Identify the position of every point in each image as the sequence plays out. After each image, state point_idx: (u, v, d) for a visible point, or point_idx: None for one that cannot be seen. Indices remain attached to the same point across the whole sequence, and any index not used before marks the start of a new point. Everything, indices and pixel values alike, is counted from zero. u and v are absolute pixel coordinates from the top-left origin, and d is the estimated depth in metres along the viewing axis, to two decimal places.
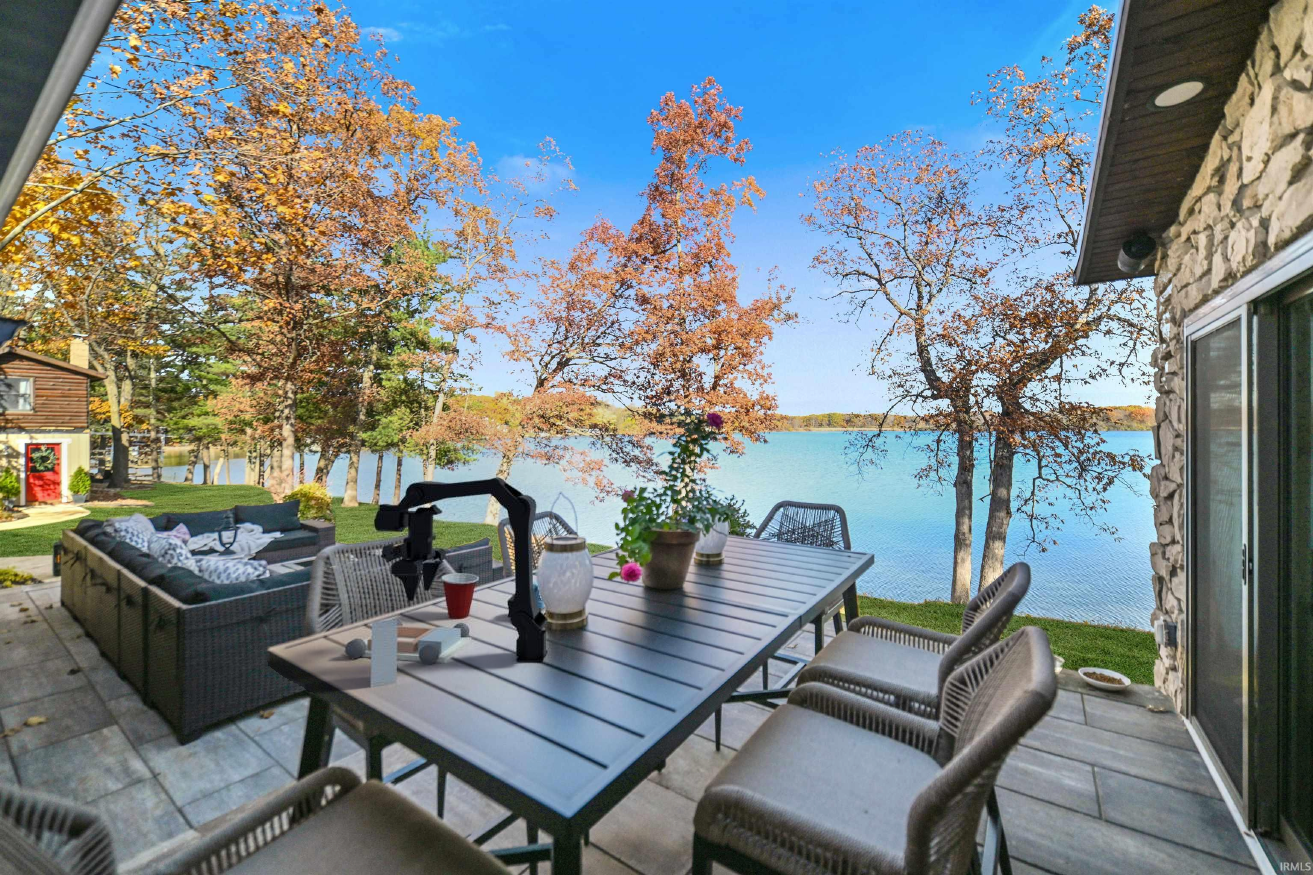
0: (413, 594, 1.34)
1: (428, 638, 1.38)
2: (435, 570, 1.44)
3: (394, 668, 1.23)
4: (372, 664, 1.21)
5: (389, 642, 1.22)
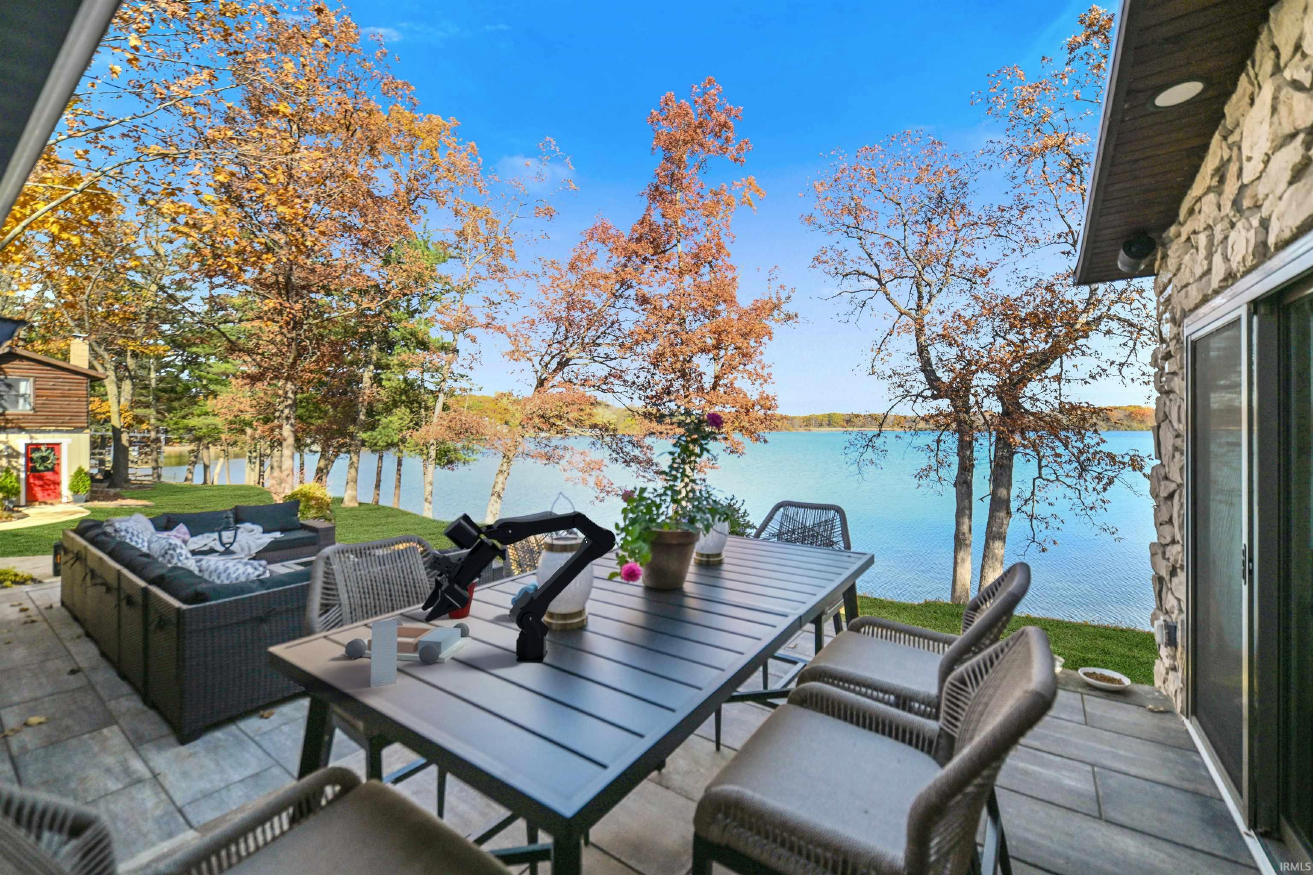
0: (434, 618, 1.24)
1: (428, 638, 1.38)
2: None
3: (394, 668, 1.23)
4: (372, 664, 1.21)
5: (389, 642, 1.22)
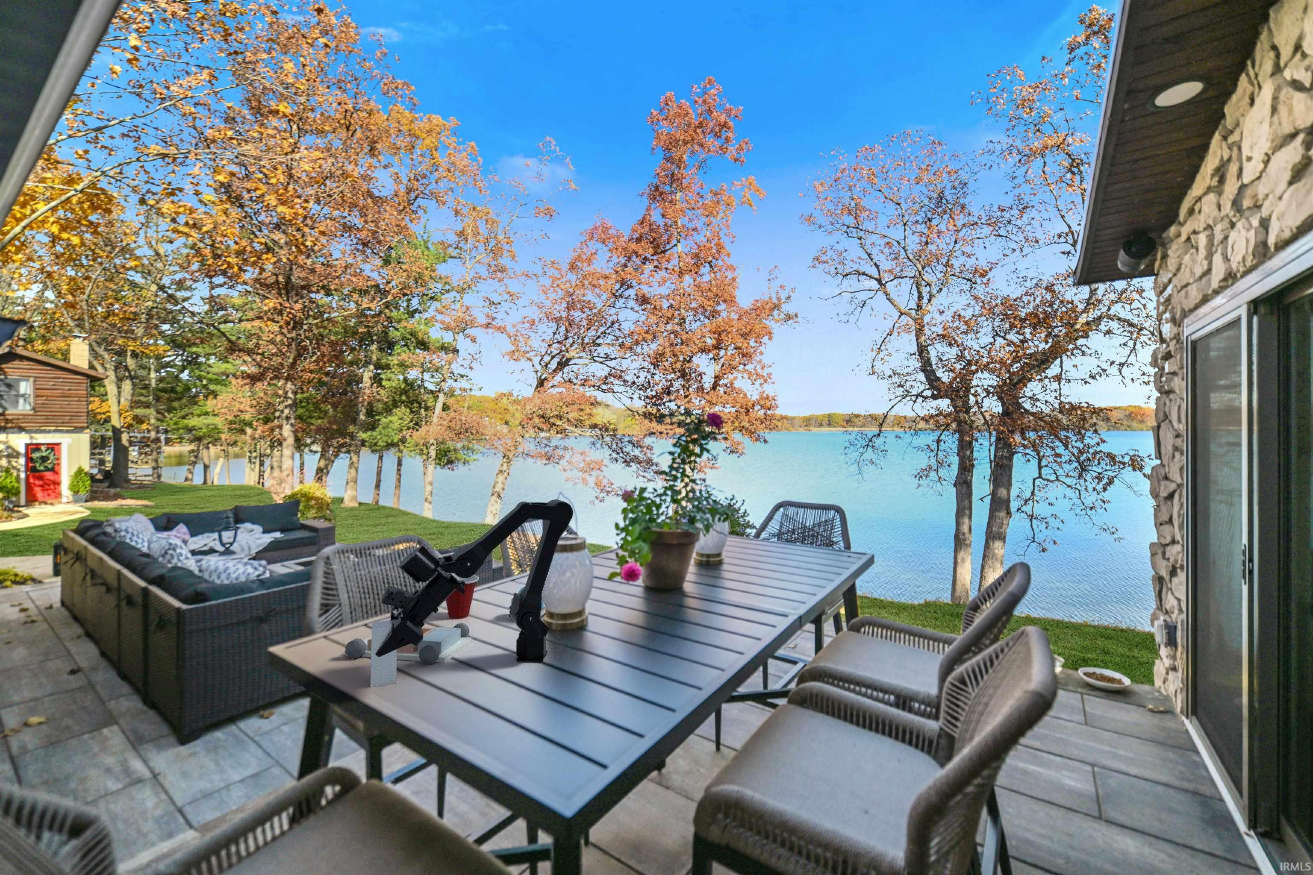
0: (386, 652, 1.21)
1: (428, 638, 1.38)
2: None
3: (394, 668, 1.23)
4: (372, 664, 1.21)
5: None
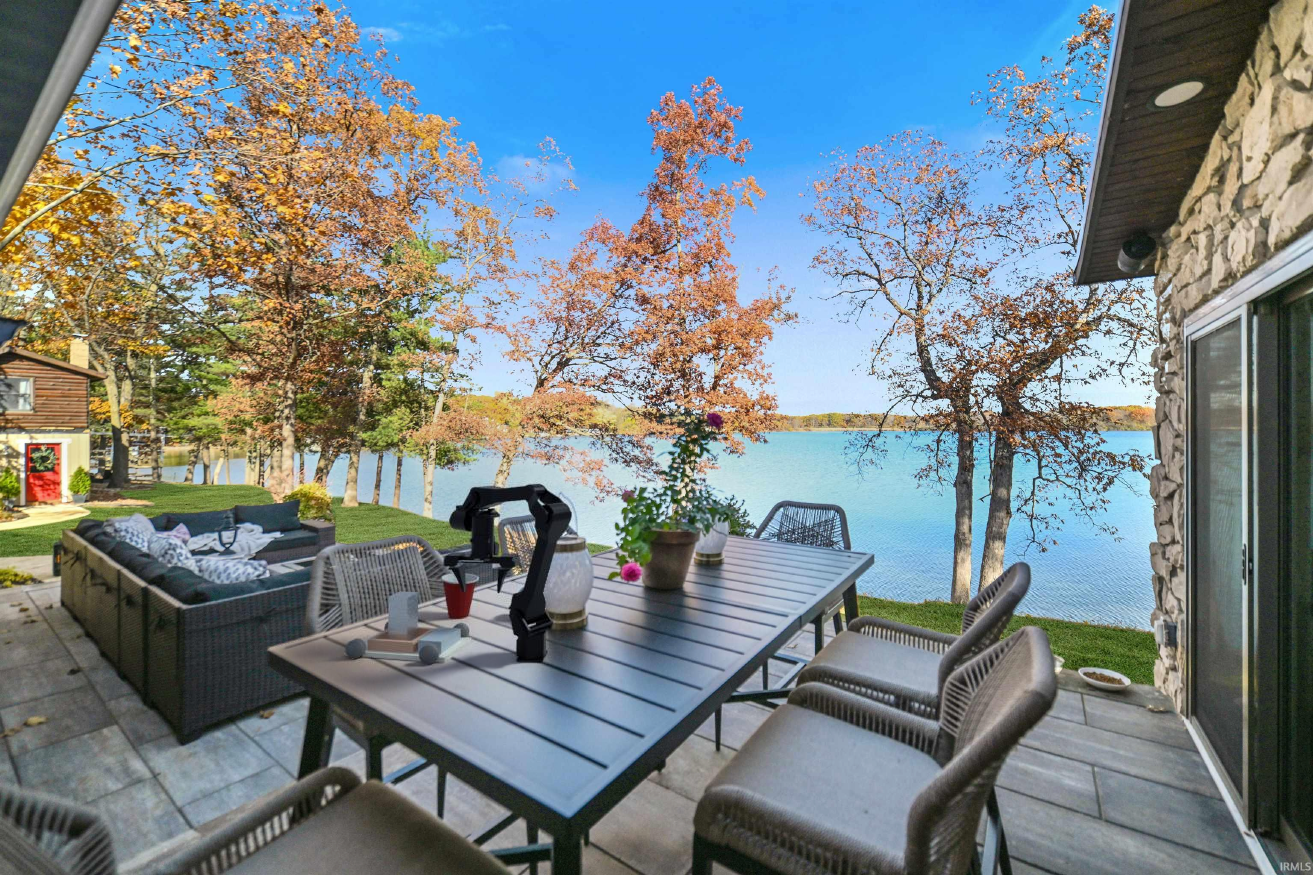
0: None
1: (428, 638, 1.38)
2: (498, 575, 1.47)
3: (404, 634, 1.40)
4: (389, 627, 1.41)
5: (401, 611, 1.41)
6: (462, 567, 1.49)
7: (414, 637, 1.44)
